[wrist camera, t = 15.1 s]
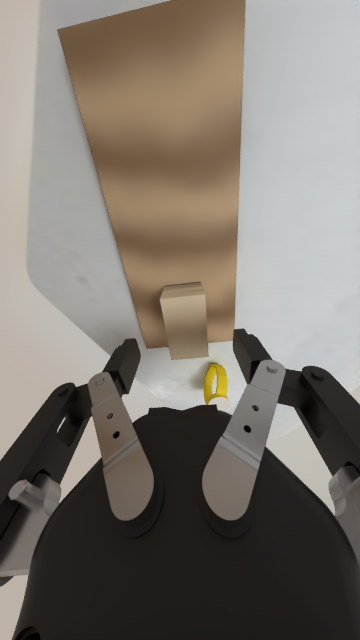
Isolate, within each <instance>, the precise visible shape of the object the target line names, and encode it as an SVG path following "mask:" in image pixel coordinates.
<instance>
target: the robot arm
mask: <svg viewBox="0 0 360 640" xmlns="http://www.w3.org/2000/svg"><path fill="white" fill-rule="evenodd" d="M233 351H234V354H235V356H236V359H237V361H238V363H239V366H240V368H241V371H242V373H243V375H244V378H245V380H246V382H247V386H246V388H245V390H244V393H243V395H242V397H241V399H240V401H239V403H238V405H237V407H236V409H235V411H234V413H233V415H230V414H228V413H226V412H223V411H220V410H218V409H217V404H213V405H199V406H196V407H193V408H189V409H186V410H176V409H172V408H167V407H161V408H149V412H148V414H147V415H144V416H142V417H140V418H139V419H137V420H136V421H135V422H133V423H132V421H131V419H130V417H129V415H128V413H127V410H126V408H125V406H124V403H123V402H122V399H121V398H122V395H123V394H129V391H130V388H131V385H132V383H133V380H134V377H135V374H136V371H137V368H138V365H139V362H140V358H141V355H140V350H139V347H138V344H137V341H136V339H135V338H132V339H125V341H124V343H123V344H122V345H121V346H119V347H118V348H116V349H115V351H114V352H113V354H112V356H111V358H110V359H109V361H108V363H107V364H106V366H105V368H104V370H103V371H102V373H99V374H97V375H95V376H94V377H92V378H91V379H90V381H89V383H88V384H85V385H82V386H79V387H76V386H75V385H74V383H65V384H63V385H61V386H59V387H58V388H56V389H55V390H54V391H53V392H52V393H51V395H50V396H49V397H48V399H47V400H46V401H45V403H44V404H43V405H42V407H41V408H40V409H39V410H38V412H37V413H36V414H35V416H34V417H33V418H32V420H31V421H30V422H29V424H28V425H27V426H26V428H25V429H24V430H23V432H22V433H21V434H20V436H19V437H18V438H17V440H16V441H15V442H14V443H13V445H12V446H11V448H10V449H9V450H8V451H7V453H6V454H5V455H4V457H3V458H2V459H1V461H0V586H3V585H4V584H6V583H7V582H8V581H9V580H10V579H11V578H13V576H17V575H27V574H29V575H28V581H27V587H26V592H25V596H24V601H23V605H22V608H21V612H20V615H19V619H18V622H17V625H16V629H15V632H14V635H13V638H12V640H360V404H359V403H358V402H357V401H356V400H355V399H354V398H353V397H352V396H351V395H350V394H349V393H348V392H347V391H346V390H345V388H344V387H343V386H342V385H341V384H340V383H339V382H338V381H337V380H336V379H335V378H334V377H333V376H332V375H331V374H330V373H329V372H328V371H326V370H324V369H322V368H319V367H316V366H306V367H304V368H303V369H302V372H301V371H295V370H289V369H285V368H284V366H283V365H282V364H280V363H279V362H277V361H274V360H272V358H271V357H270V355H269V354H268V353H267V351H266V350H265V348H264V347H263V345H262V344H261V343H260V341H259V340H258V338H257V337H255V336H254V335H252V334H247V332H246V331H245V329H234V331H233ZM277 403H279V404H284V405H288V406H292V407H294V408H295V410H296V412H297V414H298V416H299V417H300V419H301V421H302V423H303V424H304V426H305V428H306V430H307V432H308V433H309V435H310V437H311V439H312V440H313V442H314V444H315V446H316V448H317V449H318V451H319V453H320V455H321V456H322V458H323V460H324V462H325V464H326V465H327V467H328V469H329V471H330V472H331V474H332V476H333V477H332V479H331V480H330V482H329V491H330V495H331V497H332V500H333V503H334V506H335V516H334V515H333V513H332V512H331V511H330V510H329V508H328V507H327V506H326V505H325V503H324V502H323V501H322V500H321V499H320V498H319V497H318V496H317V495H316V494H315V493H313V492H312V491H311V490H310V489H309V488H308V487H307V486H306V485H305V484H304V483H303V482H302V481H301V480H300V479H299V478H298V477H297V476H296V475H295V474H294V473H293V472H292V471H291V470H289V468H287V467H286V466H285V465H284V464H283V463H282V462H281V461H280V460H279V459H278V458H277V457H276V456H275V455H274V454H273V453H272V452H271V451H270V450H269V449H268V448H266V446H265V445H266V441H267V438H268V434H269V431H270V427H271V423H272V420H273V416H274V413H275V409H276V405H277ZM91 416H93V420H94V425H95V429H96V433H97V438H98V442H99V447H100V451H101V456H102V457H101V458H100V460H98V462H97V463H96V464H95V465H94V466H93V467H92V468H91V469H90V470H89V471H88V473H87V474H86V475H85V476H84V477H83V478H82V479H81V480H80V481H79V483H78V484H77V485H76V486H75V487H74V488H73V489H72V490H71V491H70V492H69V494H68V495H67V496H66V497H65V498H64V499H63V500H62V501H61V503H59V500H60V497H61V487H60V483H61V481H62V479H63V477H64V474H65V472H66V470H67V468H68V466H69V463H70V461H71V459H72V456H73V454H74V452H75V450H76V448H77V446H78V443H79V441H80V438H81V437H82V434H83V432H84V430H85V428H86V425H87V423H88V421H89V419H90V417H91ZM64 417H65V418H66V419H65V421H64V422H63V424H62V426H61V428H60V429H59V431H58V433H57V429H58V427H59V425H60V424H61V422H62V420H63V419H64Z"/></svg>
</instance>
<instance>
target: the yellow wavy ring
mask: <svg viewBox="0 0 360 640" xmlns="http://www.w3.org/2000/svg"><path fill="white" fill-rule="evenodd" d="M215 374H217V388H216V393H215V394H212V384H213V378H214V376H215ZM226 393H227V375H226V371H225V369H224V368H223V366H222V365H217V364H211V365H210V367H209V369H208V372H207V374H206V376H205V380H204V399H205V403H206V404H207V405H213V404H217V409H218V410H220V411H222V410H225V409H226V408H227V407H228V406H229V400H228V397H227V396H226Z"/></svg>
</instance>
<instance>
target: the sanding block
mask: <svg viewBox="0 0 360 640" xmlns="http://www.w3.org/2000/svg"><path fill="white" fill-rule="evenodd" d="M160 303H161V308H162V313H163V318H164V324H165V329H166V334H167V339H168V344H169V349H170V355H171V360H177V359H189V358H200V357H209V355H208V337H207V318H206V299H205V292H204V290H203V287H202V285H201V282H200V281H199V282H190V283H182V284H174V285H165V287H164V289H163V292H162V295H161V298H160Z"/></svg>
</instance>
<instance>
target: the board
mask: <svg viewBox="0 0 360 640" xmlns="http://www.w3.org/2000/svg"><path fill="white" fill-rule="evenodd" d="M244 27H245V0H171V1H167V2H163V3H159V4H155V5H152V6H148V7H144V8H140V9H136V10H132V11H128V12H124V13H120V14H116V15H113V16H109V17H105V18H101V19H97V20H93V21H89V22H85V23H81V24H77V25H74V26H70V27H66V28H62V29H58V30H57V31H58V34H59V38H60V42H61V45H62V49H63V52H64V56H65V59H66V63H67V66H68V70H69V74H70V77H71V81H72V84H73V88H74V91H75V95H76V99H77V102H78V106H79V109H80V113H81V116H82V120H83V123H84V127H85V131H86V134H87V138H88V141H89V145H90V148H91V152H92V156H93V159H94V163H95V166H96V170H97V173H98V177H99V181H100V184H101V188H102V191H103V195H104V198H105V202H106V205H107V209H108V213H109V216H110V220H111V223H112V227H113V230H114V234H115V238H116V241H117V245H118V248H119V252H120V255H121V259H122V262H123V266H124V270H125V273H126V277H127V280H128V284H129V287H130V291H131V295H132V298H133V302H134V305H135V309H136V312H137V316H138V320H139V323H140V327H141V330H142V334H143V337H144V341H145V344H146V348H147V349H149V348H159V347H169V344H168V339H167V334H166V329H165V324H164V318H163V313H162V308H161V303H160V298H161V295H162V292H163V289H164V287H165V285H174V284H182V283H190V282H199V281H200V282H201V285H202V287H203V290H204V292H205V299H206V318H207V337H208V343H212V342H223V341H233V331H234V323H235V293H236V264H237V234H238V205H239V175H240V145H241V116H242V86H243V56H244Z"/></svg>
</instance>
